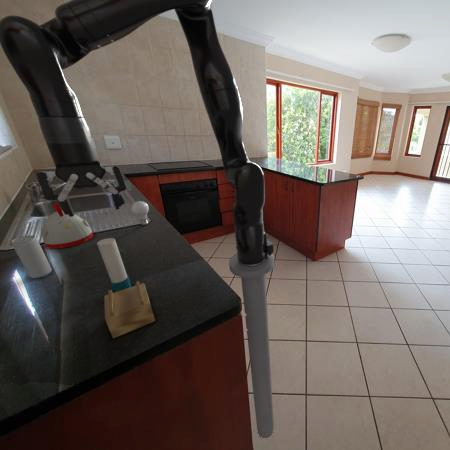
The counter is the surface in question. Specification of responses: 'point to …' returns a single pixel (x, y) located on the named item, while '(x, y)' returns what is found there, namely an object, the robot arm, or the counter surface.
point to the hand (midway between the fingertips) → (96, 211)
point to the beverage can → (32, 256)
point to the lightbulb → (141, 211)
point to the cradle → (127, 310)
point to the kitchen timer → (64, 230)
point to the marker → (114, 264)
